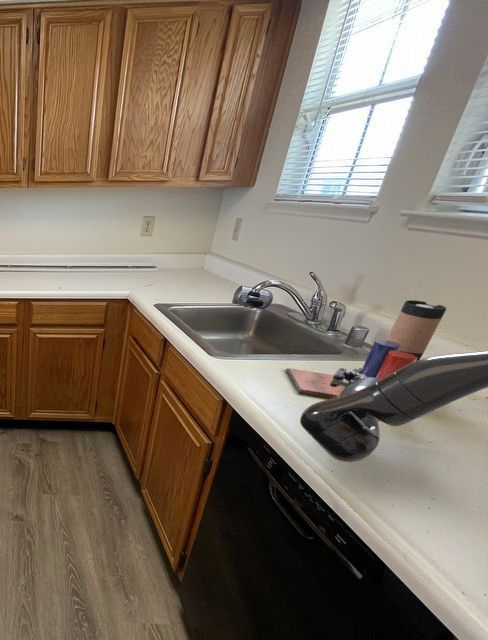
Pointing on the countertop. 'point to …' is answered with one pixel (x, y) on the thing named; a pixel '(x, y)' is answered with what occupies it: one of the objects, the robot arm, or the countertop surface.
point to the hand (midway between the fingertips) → (384, 379)
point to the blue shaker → (378, 356)
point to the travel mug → (416, 326)
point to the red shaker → (395, 363)
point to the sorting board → (314, 383)
